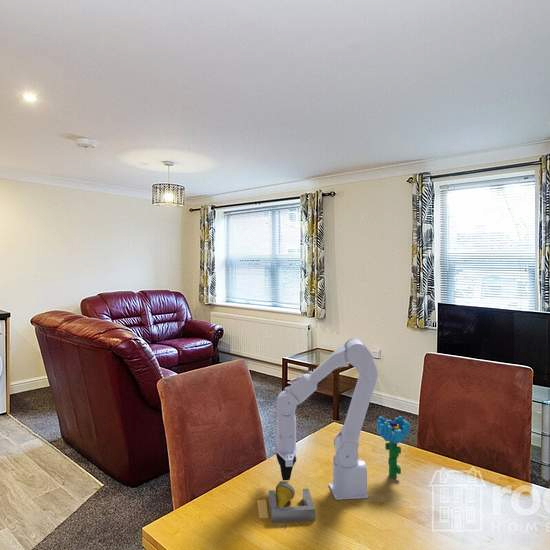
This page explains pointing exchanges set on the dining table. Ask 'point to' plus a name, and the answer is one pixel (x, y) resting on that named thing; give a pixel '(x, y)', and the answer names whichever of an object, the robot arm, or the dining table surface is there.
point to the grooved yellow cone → (284, 493)
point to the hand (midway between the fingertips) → (285, 479)
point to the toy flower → (393, 440)
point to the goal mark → (262, 509)
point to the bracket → (292, 509)
